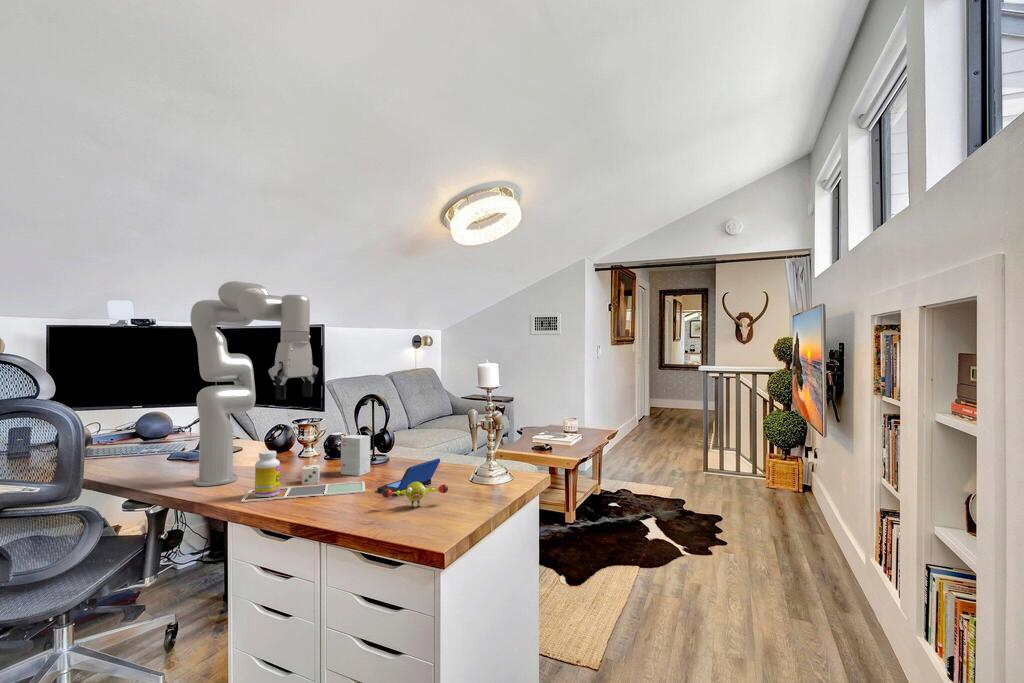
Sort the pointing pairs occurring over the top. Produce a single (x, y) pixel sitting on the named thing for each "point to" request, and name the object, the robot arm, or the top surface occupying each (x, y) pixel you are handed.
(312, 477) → the die
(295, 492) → the board
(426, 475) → the handheld game console
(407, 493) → the toy figure
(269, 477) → the supplement bottle
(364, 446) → the small box
